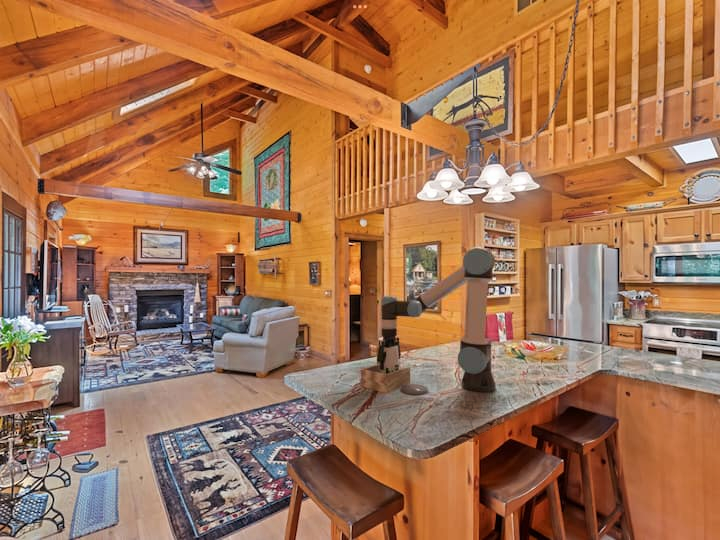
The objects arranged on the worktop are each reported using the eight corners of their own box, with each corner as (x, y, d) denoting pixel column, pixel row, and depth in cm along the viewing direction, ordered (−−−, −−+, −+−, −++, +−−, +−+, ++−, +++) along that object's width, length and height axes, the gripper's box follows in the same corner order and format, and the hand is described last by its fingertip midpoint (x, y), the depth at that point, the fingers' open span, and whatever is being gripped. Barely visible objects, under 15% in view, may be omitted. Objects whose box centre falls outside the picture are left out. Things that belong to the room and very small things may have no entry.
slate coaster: (432, 389, 160) (432, 387, 160) (418, 396, 151) (418, 394, 151) (410, 384, 168) (410, 382, 168) (396, 390, 159) (396, 388, 159)
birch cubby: (410, 383, 170) (410, 366, 171) (386, 393, 156) (386, 375, 156) (385, 377, 180) (385, 361, 181) (360, 386, 166) (360, 369, 166)
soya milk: (381, 380, 175) (381, 340, 176) (399, 381, 174) (399, 340, 174) (378, 385, 167) (378, 343, 167) (397, 386, 165) (397, 344, 165)
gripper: (395, 324, 181) (396, 368, 181) (368, 329, 165) (369, 377, 165) (408, 326, 176) (408, 370, 176) (381, 331, 160) (381, 380, 160)
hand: (389, 374), depth 170 cm, fingers closed on soya milk, 9 cm apart
